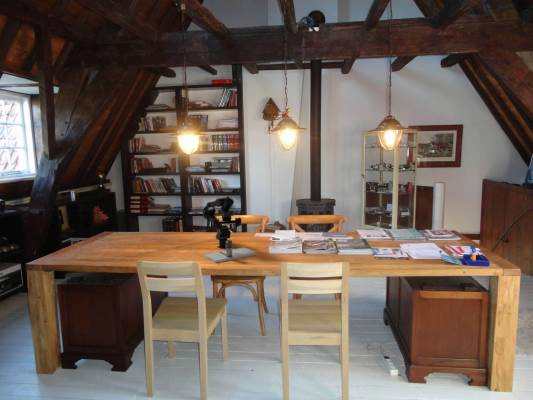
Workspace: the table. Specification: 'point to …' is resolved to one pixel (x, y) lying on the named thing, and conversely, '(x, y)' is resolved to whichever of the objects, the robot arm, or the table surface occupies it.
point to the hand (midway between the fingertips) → (228, 233)
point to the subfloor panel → (235, 254)
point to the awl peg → (229, 248)
